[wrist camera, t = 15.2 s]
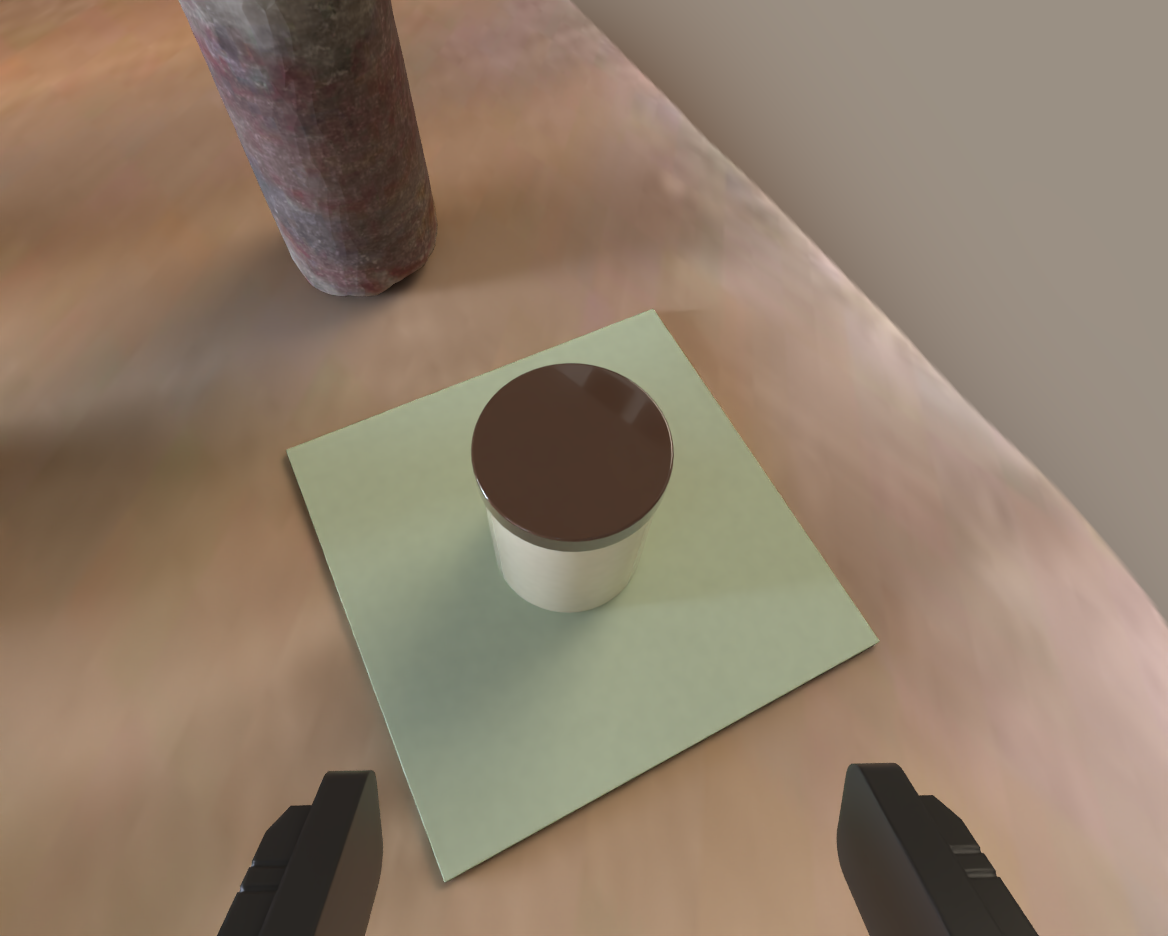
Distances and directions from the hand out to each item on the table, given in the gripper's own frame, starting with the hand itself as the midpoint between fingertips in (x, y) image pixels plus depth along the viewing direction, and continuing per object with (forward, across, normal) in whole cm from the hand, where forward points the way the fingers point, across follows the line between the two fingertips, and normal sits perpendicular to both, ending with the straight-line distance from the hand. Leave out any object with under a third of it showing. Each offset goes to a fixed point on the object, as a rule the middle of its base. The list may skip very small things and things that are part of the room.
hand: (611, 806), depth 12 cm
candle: (+29, +10, -8) cm, 32 cm away
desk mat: (+18, 0, +3) cm, 18 cm away
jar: (+17, 0, +3) cm, 18 cm away
